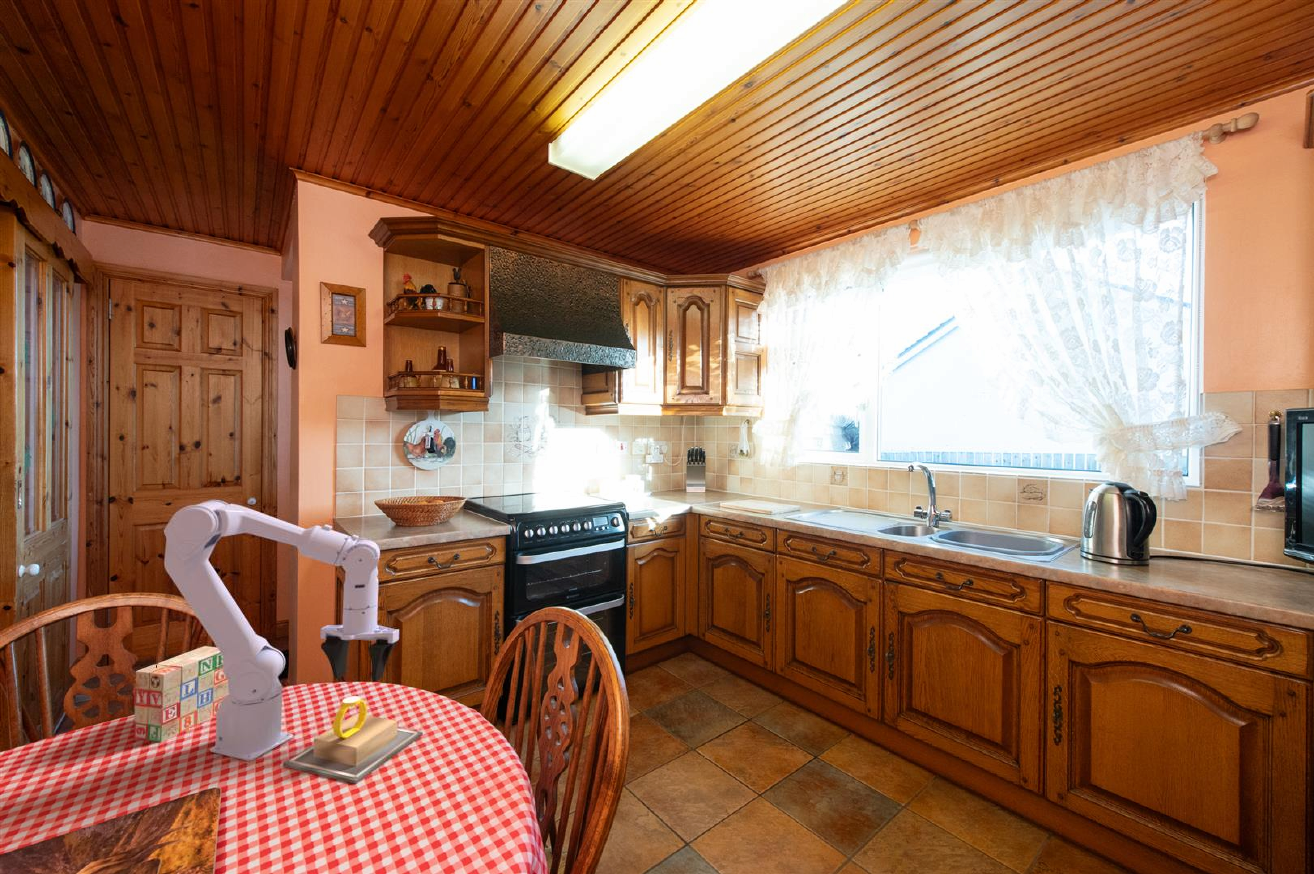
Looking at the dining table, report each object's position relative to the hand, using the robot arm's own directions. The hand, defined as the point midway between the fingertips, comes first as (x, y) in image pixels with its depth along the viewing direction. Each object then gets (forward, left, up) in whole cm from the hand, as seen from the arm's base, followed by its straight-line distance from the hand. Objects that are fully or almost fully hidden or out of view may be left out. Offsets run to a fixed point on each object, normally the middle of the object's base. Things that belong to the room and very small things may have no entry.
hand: (358, 678), depth 101 cm
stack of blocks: (-32, -4, -10) cm, 34 cm away
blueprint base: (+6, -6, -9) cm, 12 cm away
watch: (+6, -7, -6) cm, 11 cm away
